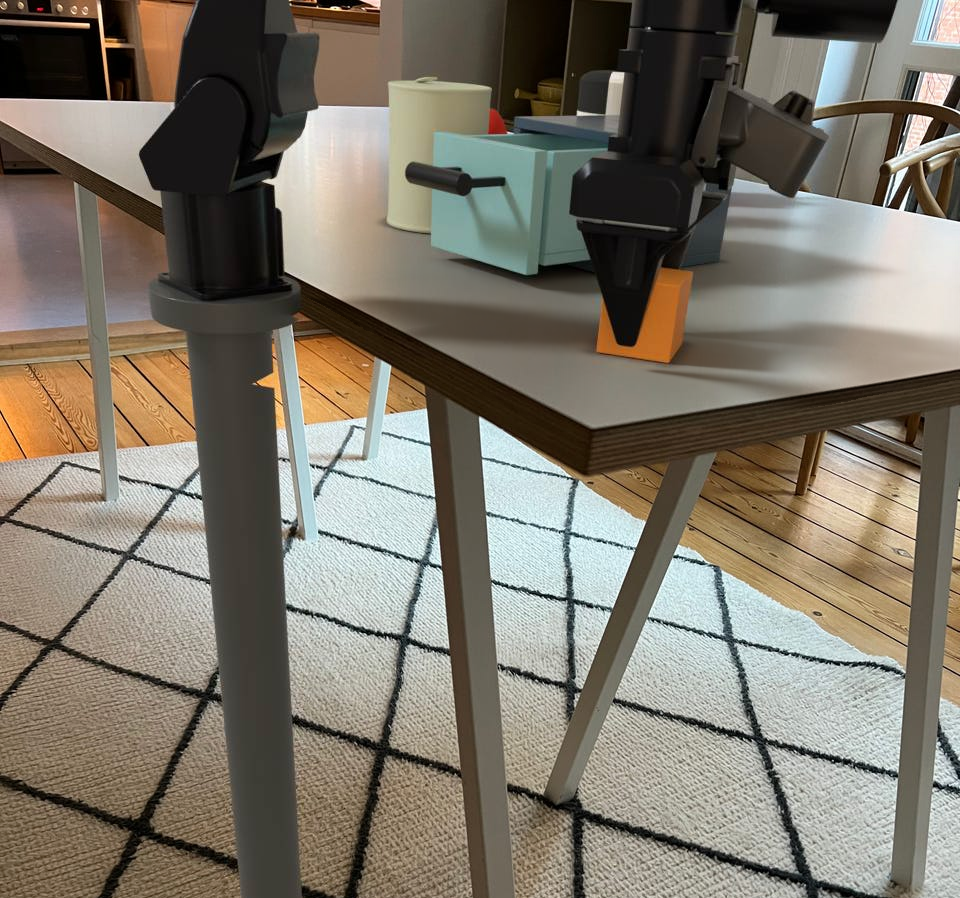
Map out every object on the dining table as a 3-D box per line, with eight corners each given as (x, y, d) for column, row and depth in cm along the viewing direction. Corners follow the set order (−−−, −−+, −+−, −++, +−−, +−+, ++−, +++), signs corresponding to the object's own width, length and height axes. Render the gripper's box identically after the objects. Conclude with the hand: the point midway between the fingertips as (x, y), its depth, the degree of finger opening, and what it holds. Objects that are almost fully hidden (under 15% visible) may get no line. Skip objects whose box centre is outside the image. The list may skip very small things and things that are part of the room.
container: (546, 213, 103) (558, 67, 96) (592, 207, 108) (607, 68, 101) (606, 226, 99) (624, 74, 92) (651, 219, 104) (671, 74, 97)
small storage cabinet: (611, 277, 80) (629, 135, 74) (505, 247, 87) (514, 116, 82) (719, 261, 87) (741, 131, 82) (612, 234, 95) (627, 114, 90)
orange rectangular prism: (668, 363, 60) (680, 285, 58) (595, 352, 62) (604, 275, 59) (681, 345, 64) (693, 271, 62) (612, 334, 65) (621, 262, 63)
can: (453, 213, 100) (458, 75, 94) (503, 231, 93) (513, 84, 87) (369, 218, 96) (369, 73, 89) (416, 236, 89) (419, 81, 83)
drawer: (477, 282, 72) (483, 153, 67) (382, 251, 79) (383, 133, 74) (639, 259, 82) (654, 146, 77) (542, 234, 89) (551, 128, 84)
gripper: (829, 42, 44) (758, 390, 53) (845, 41, 59) (788, 311, 68) (583, 26, 47) (552, 359, 55) (658, 28, 62) (625, 289, 70)
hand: (642, 327), depth 62 cm, fingers open, 9 cm apart
